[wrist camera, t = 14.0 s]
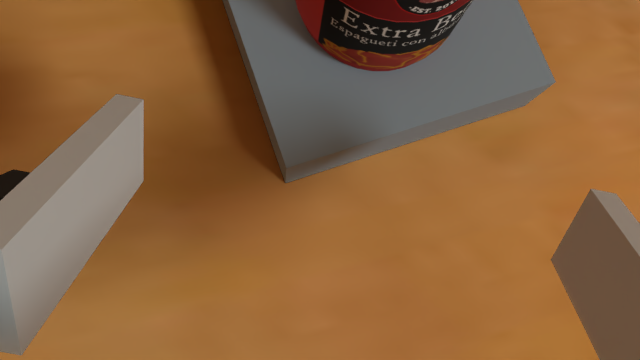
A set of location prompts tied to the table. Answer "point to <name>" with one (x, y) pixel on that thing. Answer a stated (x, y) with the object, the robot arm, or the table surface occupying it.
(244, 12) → the stand
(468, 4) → the canned food
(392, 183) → the table surface
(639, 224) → the robot arm
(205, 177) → the table surface
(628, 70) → the table surface
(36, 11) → the table surface
